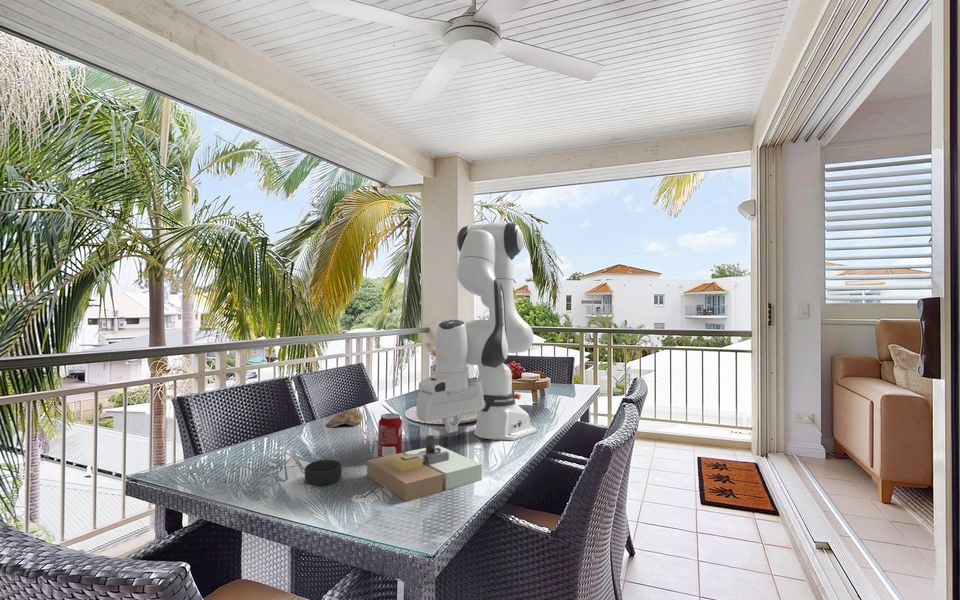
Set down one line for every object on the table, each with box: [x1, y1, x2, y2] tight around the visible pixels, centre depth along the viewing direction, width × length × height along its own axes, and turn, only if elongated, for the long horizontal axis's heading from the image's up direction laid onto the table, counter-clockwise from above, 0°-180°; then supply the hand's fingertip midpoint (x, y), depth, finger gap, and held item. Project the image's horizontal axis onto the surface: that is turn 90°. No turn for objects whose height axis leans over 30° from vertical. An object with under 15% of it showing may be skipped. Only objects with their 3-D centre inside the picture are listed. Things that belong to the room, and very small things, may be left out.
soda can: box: [377, 412, 403, 458], centre depth 141 cm, size 7×7×12 cm
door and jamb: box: [366, 444, 483, 502], centre depth 125 cm, size 22×20×6 cm
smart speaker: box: [304, 459, 343, 486], centre depth 123 cm, size 9×9×4 cm
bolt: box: [401, 434, 439, 463], centre depth 125 cm, size 10×2×6 cm, turn 129°
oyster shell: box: [327, 408, 365, 428], centre depth 178 cm, size 10×12×5 cm
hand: (451, 431), depth 132 cm, fingers closed
